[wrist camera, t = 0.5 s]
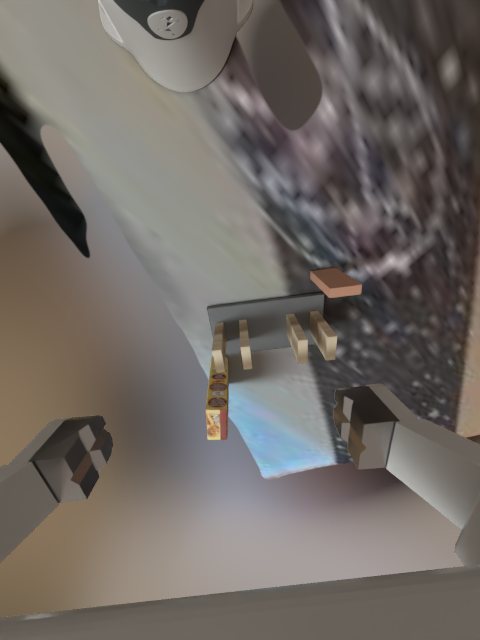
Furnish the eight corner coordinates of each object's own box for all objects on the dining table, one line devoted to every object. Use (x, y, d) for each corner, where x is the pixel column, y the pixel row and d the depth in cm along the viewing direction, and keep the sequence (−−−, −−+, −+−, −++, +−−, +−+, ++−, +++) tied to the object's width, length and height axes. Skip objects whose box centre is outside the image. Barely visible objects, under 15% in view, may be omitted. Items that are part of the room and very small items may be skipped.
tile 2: (239, 320, 48) (240, 347, 39) (246, 319, 48) (249, 346, 39) (241, 339, 50) (243, 369, 41) (248, 338, 50) (252, 368, 41)
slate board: (207, 306, 47) (206, 308, 46) (322, 292, 46) (324, 294, 45) (217, 352, 53) (216, 355, 52) (319, 340, 52) (321, 343, 51)
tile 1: (215, 323, 48) (211, 350, 39) (223, 322, 48) (220, 349, 39) (219, 342, 50) (216, 372, 41) (226, 341, 50) (225, 371, 41)
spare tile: (310, 278, 45) (329, 298, 36) (310, 271, 44) (329, 288, 35) (335, 275, 45) (360, 294, 36) (336, 267, 44) (361, 284, 35)
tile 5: (310, 311, 47) (327, 337, 38) (317, 310, 47) (337, 336, 38) (309, 331, 49) (326, 360, 41) (316, 330, 49) (334, 359, 41)
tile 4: (286, 314, 47) (298, 340, 38) (293, 313, 47) (307, 339, 38) (286, 334, 50) (298, 363, 41) (294, 333, 50) (307, 362, 41)
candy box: (211, 356, 53) (203, 409, 40) (228, 356, 54) (227, 409, 40) (212, 384, 58) (206, 440, 44) (229, 384, 58) (228, 440, 44)
